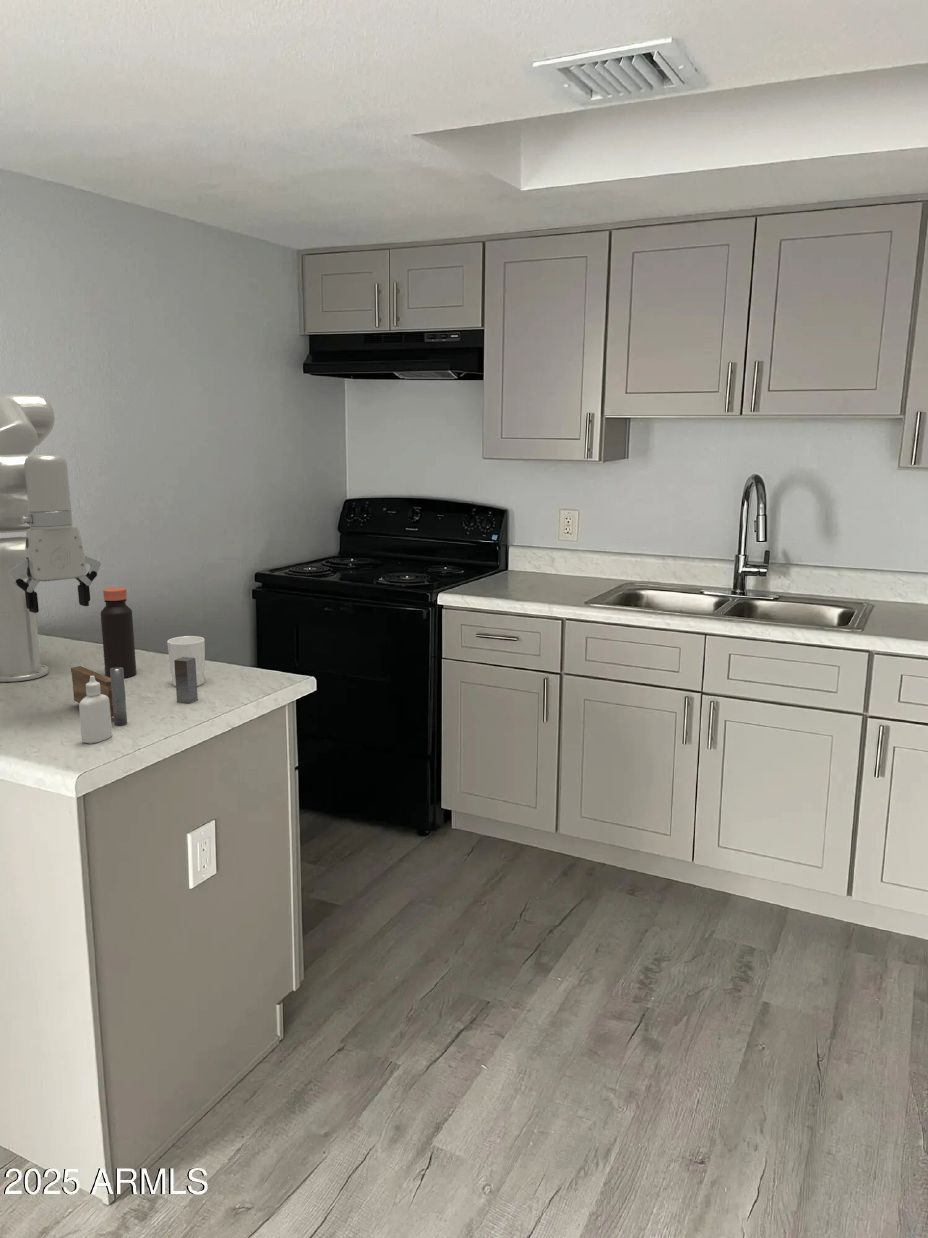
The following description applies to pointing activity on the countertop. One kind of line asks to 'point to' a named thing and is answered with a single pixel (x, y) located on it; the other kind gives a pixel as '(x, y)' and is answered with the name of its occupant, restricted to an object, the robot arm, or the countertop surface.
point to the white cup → (188, 654)
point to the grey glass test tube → (118, 696)
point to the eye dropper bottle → (95, 714)
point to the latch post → (186, 680)
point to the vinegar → (118, 632)
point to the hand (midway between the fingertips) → (59, 608)
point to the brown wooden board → (83, 677)
